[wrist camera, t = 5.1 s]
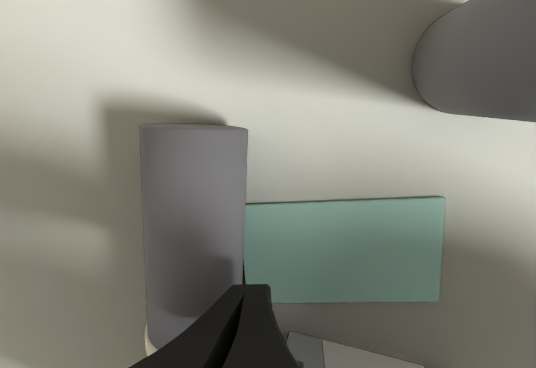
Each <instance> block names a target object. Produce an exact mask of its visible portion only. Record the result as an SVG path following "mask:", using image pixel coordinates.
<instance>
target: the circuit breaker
mask: <svg viewBox="0 0 536 368" xmlns="http://www.w3.org/2000/svg"><path fill="white" fill-rule="evenodd" d="M286 345H287V346H288V348H289V350H290V352H291V354H292V355H293V357H294V358H295V360H296V362H297V363H298V365H299V366H300V367H301V368H424V367H423V366H422V365H419V364H415V363H411V362H407V361H403V360H399V359H396V358H392V357H388V356H384V355H380V354H377V353H373V352H369V351H365V350H361V349H357V348H354V347H350V346H346V345H342V344H338V343H335V342H331V341H327V340H323V339H319V338H315V337H311V336H308V335H304V334H300V333H296V332H292V331H291V332H290V333H289V336H288V340H287V343H286Z"/></svg>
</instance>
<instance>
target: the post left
mask: <svg viewBox="0 0 536 368" xmlns="http://www.w3.org/2000/svg"><path fill="white" fill-rule="evenodd" d="M247 145H248V129H245V128H241V127H234V126H225V125H212V124H191V123H157V124H145V125H140V152H141V179H142V205H143V232H144V259H145V286H146V313H147V324H146V327H145V350H146V354H147V356H149V355H151V354H152V353H154V352H156V351H157V350H159V349H160V348H162V347H163V346H164V345H166V344H167V343H169V342H170V341H172V340H173V339H174V338H176V337H177V336H178V335H180V334H181V333H182V332H183V331H185V330H186V329H187V328H188V327H189V326H190V325H191V324H193V323H194V322H195V321H196V320H197V319H198V318H199V317H201V316H202V315H203V314H204V313H205V312H206V311H207V310H208V309H209V308H210V307H211V306H212V305H213V304H214V303H215V302H216V301H217V300H218V299H219V298H220V297H221V296H222V295H223V294H224V293H225V292H226V291H227V290H228V289H229V288H230V287H231V286H232V285H237V284H242V275H243V249H244V223H245V197H246V171H247Z"/></svg>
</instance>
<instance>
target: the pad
mask: <svg viewBox="0 0 536 368" xmlns="http://www.w3.org/2000/svg"><path fill="white" fill-rule="evenodd" d="M444 214H445V198H444V197H429V198H403V199H377V200H352V201H326V202H300V203H274V204H249V205H245V223H244V249H243V259H244V270H245V281H246V284H268V285H269V286H270V287H271V301H272V303H341V302H439V298H440V281H441V265H442V248H443V231H444Z"/></svg>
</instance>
